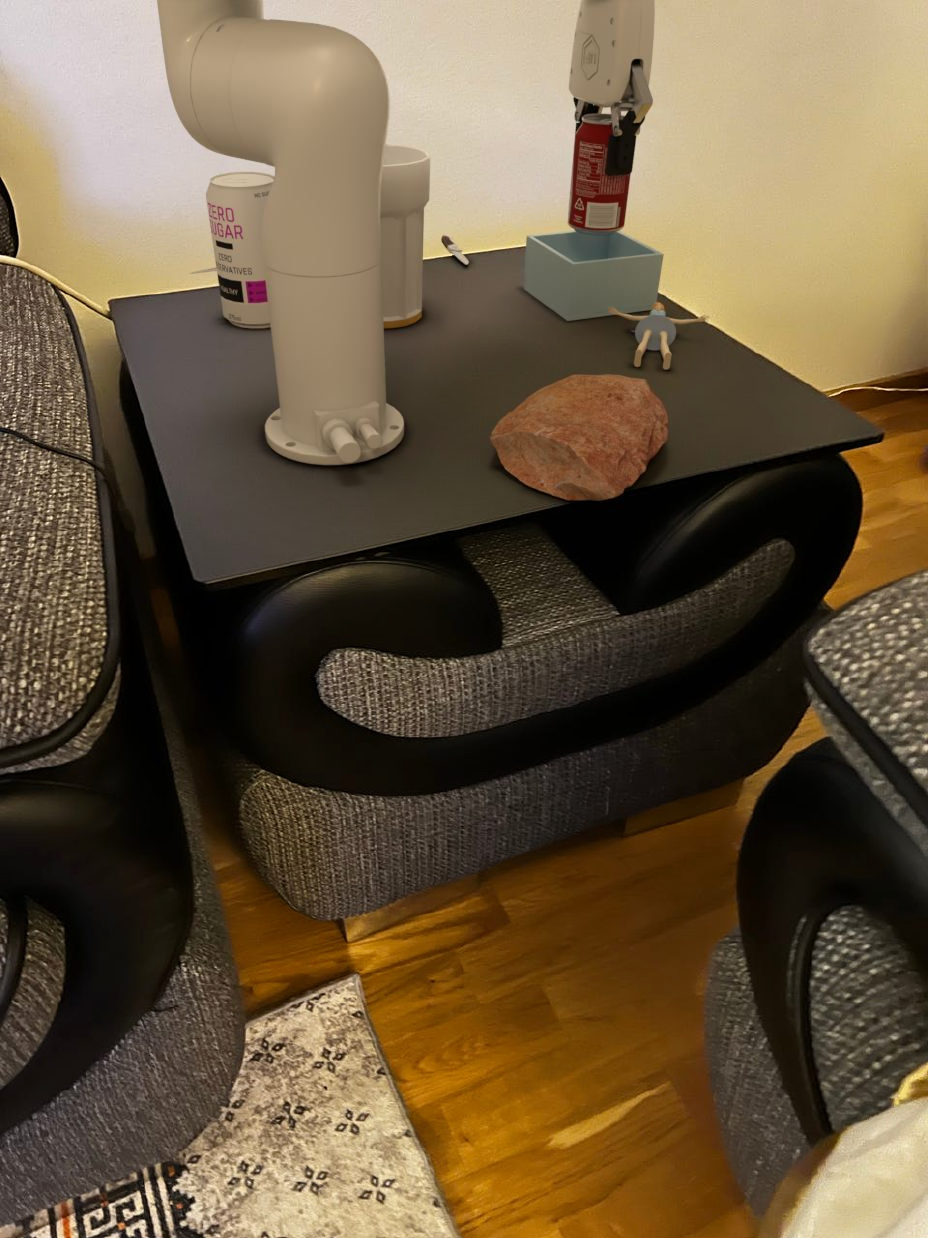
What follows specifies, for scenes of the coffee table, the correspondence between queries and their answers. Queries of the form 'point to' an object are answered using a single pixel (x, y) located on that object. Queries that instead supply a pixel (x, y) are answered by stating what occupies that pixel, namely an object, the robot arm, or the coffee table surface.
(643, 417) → the stone
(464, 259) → the pocket knife
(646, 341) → the fairy figurine
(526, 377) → the coffee table surface
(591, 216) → the soda can
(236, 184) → the supplement can
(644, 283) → the case
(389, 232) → the cup
